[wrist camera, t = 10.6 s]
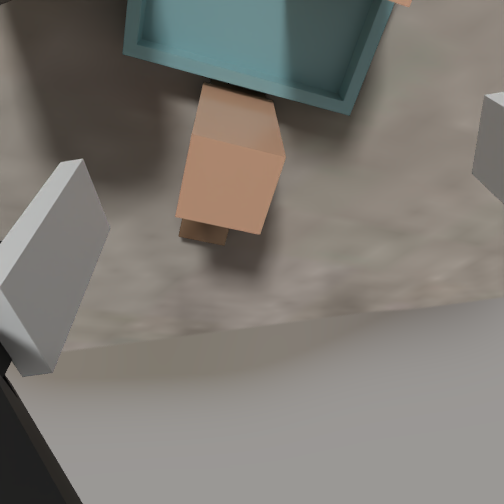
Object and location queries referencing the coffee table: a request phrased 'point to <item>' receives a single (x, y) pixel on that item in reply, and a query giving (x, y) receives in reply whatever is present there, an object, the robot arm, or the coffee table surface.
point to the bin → (264, 43)
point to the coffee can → (4, 1)
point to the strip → (203, 229)
